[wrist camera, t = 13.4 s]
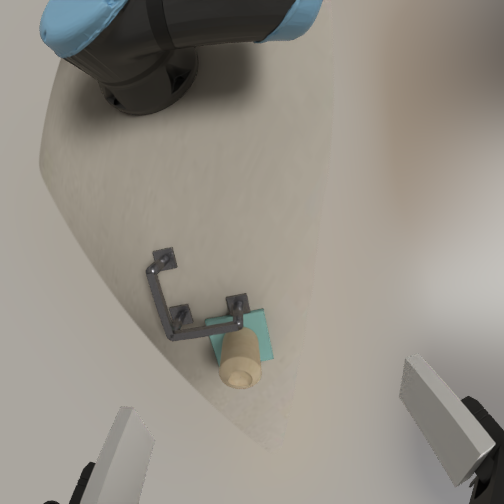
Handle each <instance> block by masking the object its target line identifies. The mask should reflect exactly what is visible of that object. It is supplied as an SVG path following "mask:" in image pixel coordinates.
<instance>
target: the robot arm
mask: <svg viewBox="0 0 504 504" xmlns="http://www.w3.org/2000/svg"><path fill="white" fill-rule="evenodd" d="M322 1H323V0H50V1H49V2H48V4H47V6H46V8H45V10H44V12H43V15H42V18H41V22H40V36H41V39H42V40H43V42H44V43H45V44H46V45H47V46H48V47H50V48H51V49H52V50H53V51H54V52H55V54H56V55H58V56H59V57H61V58H63V59H65V60H66V61H68V62H70V63H71V64H73V65H74V66H76V67H78V68H79V69H81V70H82V71H84V72H86V73H87V74H89V75H90V76H92V77H93V78H95V79H97V80H98V83H99V85H100V88H101V91H102V93H103V95H104V97H105V98H106V100H107V101H108V102H109V103H110V104H111V105H112V106H114V107H115V108H117V109H119V110H120V111H122V112H125V113H128V114H132V115H146V114H151V113H155V112H158V111H160V110H163V109H165V108H167V107H168V106H170V105H172V104H173V103H174V102H176V101H177V100H178V99H179V98H181V97H182V96H183V95H184V94H185V92H186V91H187V90H188V89H189V87H190V86H191V84H192V82H193V80H194V78H195V76H196V73H197V69H198V57H197V53H196V50H195V47H196V46H204V45H212V44H222V43H235V42H254V43H264V42H267V41H289V40H294V39H296V38H298V37H300V36H302V35H303V34H305V33H306V32H307V31H308V30H309V28H310V27H311V26H312V24H313V23H314V21H315V19H316V17H317V15H318V12H319V10H320V7H321V4H322ZM399 398H400V399H401V401H402V402H403V404H404V405H405V407H406V408H407V410H408V412H409V413H410V414H411V416H412V418H413V419H414V421H415V422H416V424H417V425H418V427H419V429H420V430H421V432H422V433H423V435H424V436H425V438H426V440H427V441H428V443H429V445H430V446H431V448H432V449H433V451H434V453H435V454H436V456H437V458H438V459H439V461H440V462H441V464H442V466H443V467H444V469H445V471H446V472H447V474H448V476H449V477H450V479H451V481H452V483H453V484H454V486H455V487H457V486H459V485H460V484H462V483H463V482H465V481H466V480H468V479H469V478H470V477H471V476H472V474H474V472H475V473H476V475H477V476H476V478H475V479H474V480H473V481H472V482H471V483H470V486H469V487H472V486H473V484H474V488H473V491H472V495H471V499H470V503H469V504H504V430H503V429H502V428H501V427H500V426H499V424H498V423H497V422H496V421H495V420H494V419H493V418H492V416H491V415H489V414H488V412H487V411H486V410H485V409H484V407H483V406H482V405H481V404H480V403H479V402H478V401H477V400H475V399H474V398H472V397H470V396H467V397H465V398H464V399H462V400H459V398H458V397H457V396H456V395H455V394H454V393H453V391H452V390H451V389H450V388H449V387H448V386H447V384H446V383H445V382H444V381H443V380H442V379H441V378H440V377H439V375H438V374H437V373H436V372H435V371H434V370H433V369H432V368H431V367H430V365H429V364H428V363H427V362H426V361H425V360H424V359H423V358H422V357H421V356H420V355H419V353H417V354H414V355H412V356H409V357H406V358H405V364H404V370H403V376H402V383H401V388H400V394H399ZM154 442H155V439H154V438H153V436H152V435H151V433H150V432H149V431H148V429H147V427H146V426H145V424H144V423H143V421H142V420H141V418H140V416H139V415H138V413H137V412H136V410H135V408H134V407H120V410H119V412H118V414H117V416H116V418H115V421H114V423H113V425H112V427H111V429H110V432H109V434H108V436H107V438H106V441H105V443H104V445H103V448H102V450H101V453H100V455H99V457H98V459H97V462H96V463H93V462H90V463H89V464H88V465H87V466H86V467H85V468H84V469H83V471H82V473H81V476H80V479H79V480H78V483H77V484H78V485H77V486H76V488H75V490H74V492H73V495H72V498H71V500H70V502H69V504H138V503H139V499H140V495H141V491H142V487H143V484H144V480H145V476H146V472H147V468H148V464H149V461H150V457H151V453H152V449H153V446H154ZM44 504H59V503H58V502H56V501H47V502H45V503H44Z"/></svg>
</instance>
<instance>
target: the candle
mask: <svg viewBox="0 0 504 504" xmlns="http://www.w3.org/2000/svg"><path fill="white" fill-rule="evenodd" d="M261 375H262V371H261V361H260V352H259V342H258V338H257V335H256V334H255V333H254V331H252V330H251V329H249V328H247V327H243V328H242V329H241V330H239V331H235V332H229V333H226V334H225V336H224V338H223V343H222V351H221V359H220V368H219V376H220V378H221V380H222V381H223V382H224V383H225V384H226V385H227V386H229V387H232V388H235V389H246V388H249V387H252V386H254V385H255V384H256V383H257V382H258V381H259V380H260V378H261Z"/></svg>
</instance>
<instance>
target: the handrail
mask: <svg viewBox="0 0 504 504" xmlns="http://www.w3.org/2000/svg"><path fill="white" fill-rule="evenodd" d="M153 256H154V260H155V262H154V263H153V264H152V265H151V266H149V267H148V268H147V269H146V275H147V279H148V282H149V285H150V288H151V292H152V295H153V298H154V301H155V304H156V307H157V310H158V313H159V316H160V319H161V322H162V325H163V328H164V330H165V333H166V336H167V338H168V339H169V340H171V341H178V340H185V339H192V338H198V337H205V336H211V335H217V334H223V333H229V332H235V331H239V330H241V329H242V328H243V314H247V313H250V307H249V303H248V299H247V294H246V293H244V294H239V295H234V296H229V297H226V300H227V303H228V307H229V311H230V315H231V316H233V321H231V322H226V323H220V324H214V325H208V326H202V327H196V328H190V329H183V330H180V329H181V326H182V325H184V324H190V323H193V318H192V315H191V312H190V308H189V305H188V304H185V305H179V306H174V307H170V308H169V310H170V313H171V316H172V319H173V323H172V321H171V318H170V315H169V312H168V309H167V306H166V303H165V299H164V296H163V293H162V290H161V287H160V283H159V280H158V276H157V274H158V273H159V272H160V271H163V270H168V269H173V268H177V267H178V266H177V263H176V259H175V255H174V251H173V247H170V248H165V249H161V250H156V251H153Z"/></svg>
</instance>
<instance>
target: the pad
mask: <svg viewBox="0 0 504 504" xmlns="http://www.w3.org/2000/svg"><path fill="white" fill-rule="evenodd" d="M231 321H233V316H231V315H227V316H222V317H216V318H210V319H206V320H205V323H206V326H208V325H214V324H220V323H226V322H231ZM243 327H247V328H249V329H251V330H252V331H254V333H255V334H256V335H257V338H258V342H259V352H260V361H265V360H270V359H274V357H273V353H272V348H271V343H270V338H269V333H268V329H267V324H266V319H265V314H264V309H258V310H253V311H250V313H247V314H243ZM225 334H226V333H223V334H217V335H211V336H210V339H211V342H212V346H213V349H214V352H215V355H216V358H217V361H218V364H219V367H220V359H221V351H222V343H223V338H224V336H225Z"/></svg>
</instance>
